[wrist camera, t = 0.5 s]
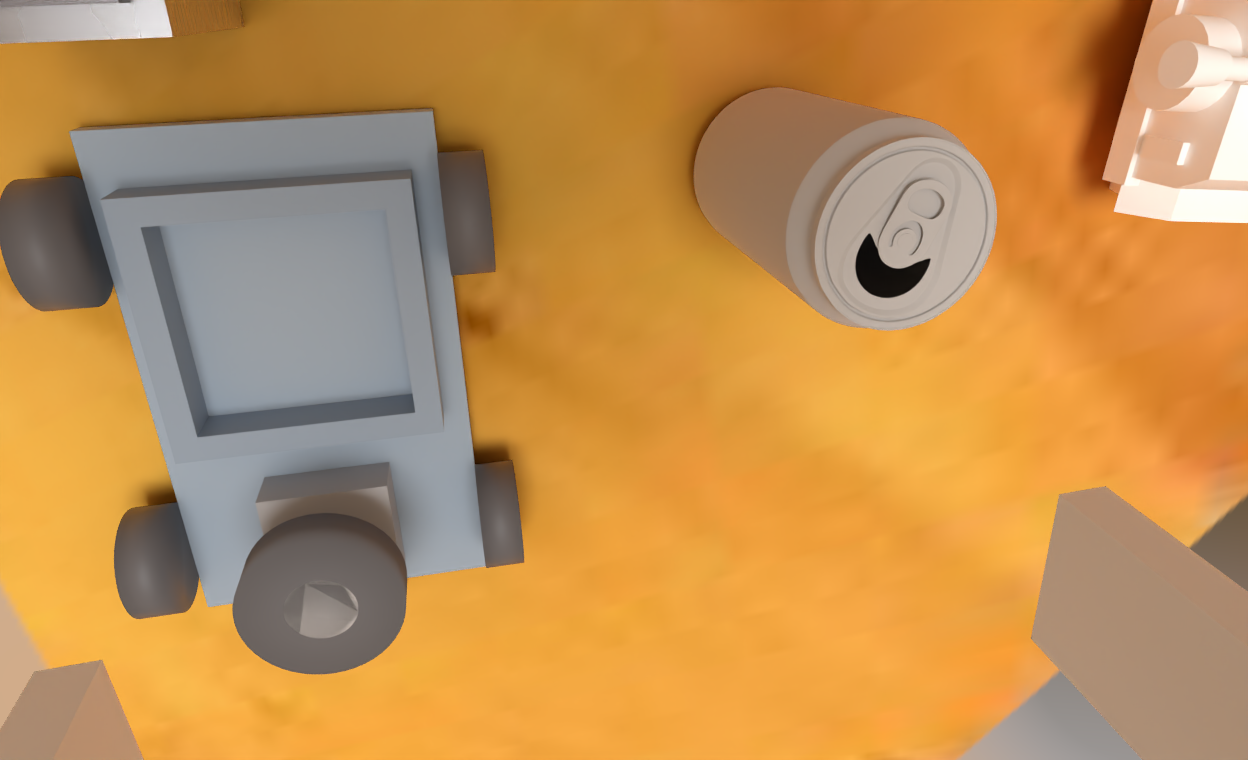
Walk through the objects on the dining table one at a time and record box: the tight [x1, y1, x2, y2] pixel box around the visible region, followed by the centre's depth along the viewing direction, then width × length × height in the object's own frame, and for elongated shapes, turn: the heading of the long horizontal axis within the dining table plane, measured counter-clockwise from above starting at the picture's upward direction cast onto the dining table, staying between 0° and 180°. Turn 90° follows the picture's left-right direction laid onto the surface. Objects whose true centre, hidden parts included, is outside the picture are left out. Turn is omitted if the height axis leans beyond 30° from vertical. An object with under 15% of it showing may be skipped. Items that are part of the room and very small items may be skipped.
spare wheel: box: [233, 513, 407, 674], centre depth 33 cm, size 6×6×4 cm
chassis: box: [0, 108, 524, 619], centre depth 33 cm, size 20×15×4 cm
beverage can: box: [694, 87, 997, 330], centre depth 30 cm, size 6×6×12 cm
